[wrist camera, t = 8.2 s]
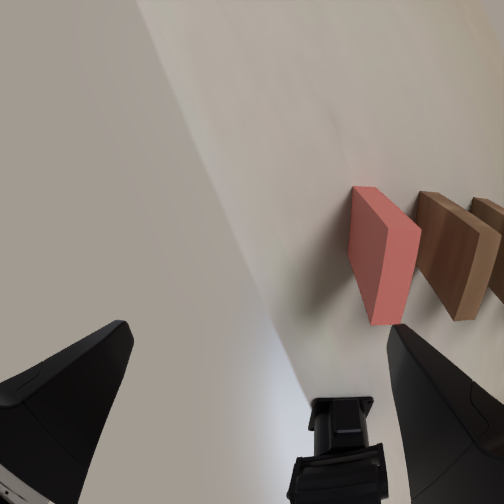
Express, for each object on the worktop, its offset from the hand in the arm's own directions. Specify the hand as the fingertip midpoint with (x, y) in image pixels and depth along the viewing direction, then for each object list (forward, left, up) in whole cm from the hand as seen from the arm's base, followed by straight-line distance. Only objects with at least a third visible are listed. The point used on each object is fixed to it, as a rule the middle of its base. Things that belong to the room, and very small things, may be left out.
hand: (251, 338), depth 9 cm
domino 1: (0, -6, -12) cm, 14 cm away
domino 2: (0, -11, -12) cm, 16 cm away
